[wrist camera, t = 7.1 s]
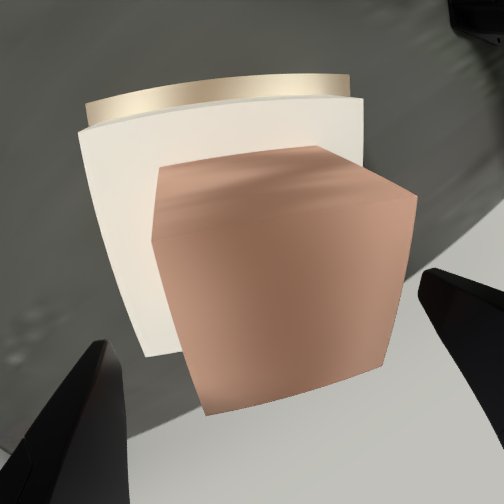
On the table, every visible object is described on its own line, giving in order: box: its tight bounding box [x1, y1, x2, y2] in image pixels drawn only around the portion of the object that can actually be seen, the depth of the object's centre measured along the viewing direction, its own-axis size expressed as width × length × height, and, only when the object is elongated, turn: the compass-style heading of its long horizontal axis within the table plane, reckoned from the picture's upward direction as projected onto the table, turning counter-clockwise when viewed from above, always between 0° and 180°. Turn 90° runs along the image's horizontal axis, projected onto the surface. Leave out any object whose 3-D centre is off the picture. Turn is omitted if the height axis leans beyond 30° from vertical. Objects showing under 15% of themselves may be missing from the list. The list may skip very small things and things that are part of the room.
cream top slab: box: [78, 94, 363, 357], centre depth 14 cm, size 10×10×4 cm
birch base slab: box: [86, 74, 350, 127], centre depth 17 cm, size 12×12×4 cm
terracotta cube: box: [151, 145, 418, 416], centre depth 10 cm, size 6×6×6 cm
